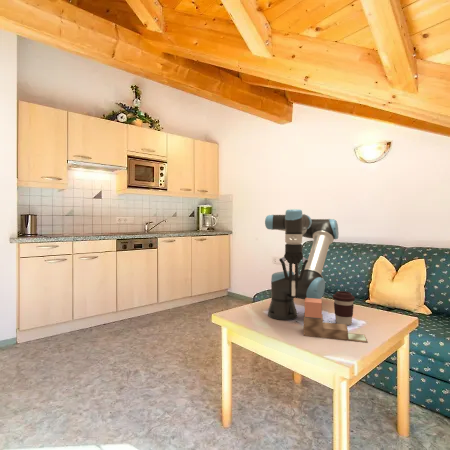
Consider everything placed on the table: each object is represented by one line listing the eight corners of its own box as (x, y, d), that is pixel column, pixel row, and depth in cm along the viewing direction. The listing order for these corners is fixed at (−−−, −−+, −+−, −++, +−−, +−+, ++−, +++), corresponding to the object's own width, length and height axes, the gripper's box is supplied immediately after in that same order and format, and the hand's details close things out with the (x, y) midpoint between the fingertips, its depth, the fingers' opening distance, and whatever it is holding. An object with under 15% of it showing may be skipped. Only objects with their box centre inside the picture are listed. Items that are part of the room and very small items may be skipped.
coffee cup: (352, 320, 148) (352, 290, 148) (356, 327, 138) (356, 295, 138) (331, 319, 150) (331, 289, 150) (334, 325, 141) (334, 294, 140)
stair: (303, 335, 129) (303, 317, 129) (304, 329, 136) (304, 312, 136) (367, 342, 121) (367, 323, 121) (364, 335, 129) (364, 317, 129)
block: (304, 317, 129) (304, 301, 129) (305, 312, 136) (305, 297, 136) (321, 319, 127) (321, 303, 127) (321, 314, 134) (321, 299, 133)
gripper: (278, 243, 132) (278, 296, 132) (308, 244, 128) (308, 298, 128) (280, 242, 139) (280, 292, 139) (308, 243, 135) (308, 294, 135)
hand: (293, 295), depth 134 cm, fingers closed
